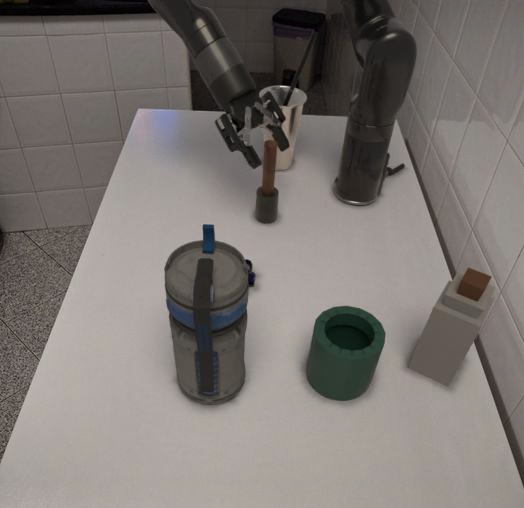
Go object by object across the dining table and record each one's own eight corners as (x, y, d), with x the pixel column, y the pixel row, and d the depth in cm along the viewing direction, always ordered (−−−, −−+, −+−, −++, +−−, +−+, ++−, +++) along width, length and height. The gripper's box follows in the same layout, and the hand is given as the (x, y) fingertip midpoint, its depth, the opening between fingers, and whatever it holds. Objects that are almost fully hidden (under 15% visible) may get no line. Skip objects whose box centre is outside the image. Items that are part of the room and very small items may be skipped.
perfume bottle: (448, 386, 79) (494, 303, 65) (407, 367, 81) (443, 282, 67) (461, 358, 82) (508, 274, 69) (422, 340, 84) (459, 255, 71)
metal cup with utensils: (300, 180, 114) (318, 30, 91) (251, 172, 115) (256, 22, 92) (307, 156, 121) (325, 11, 98) (261, 149, 122) (268, 4, 99)
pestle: (269, 208, 107) (274, 135, 94) (280, 219, 104) (287, 145, 92) (251, 214, 105) (254, 140, 93) (262, 226, 103) (267, 151, 90)
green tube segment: (343, 341, 84) (355, 297, 76) (383, 383, 78) (400, 341, 71) (293, 365, 80) (300, 321, 72) (331, 411, 75) (343, 369, 67)
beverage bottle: (172, 421, 72) (151, 293, 53) (181, 350, 81) (166, 217, 62) (243, 423, 72) (248, 296, 53) (246, 352, 81) (250, 220, 62)
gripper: (208, 74, 83) (260, 164, 88) (262, 51, 91) (307, 135, 95) (186, 97, 89) (236, 181, 94) (239, 74, 97) (282, 152, 101)
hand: (272, 158), depth 94 cm, fingers open, 8 cm apart
